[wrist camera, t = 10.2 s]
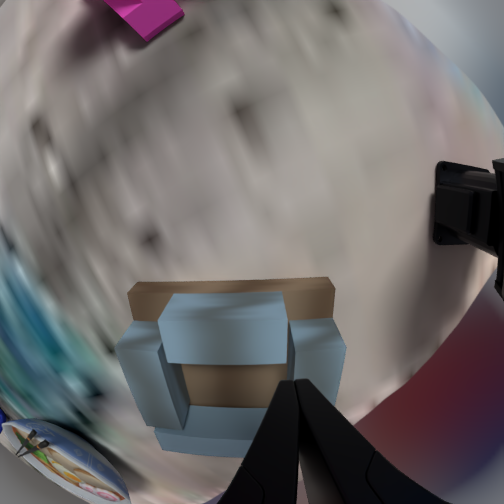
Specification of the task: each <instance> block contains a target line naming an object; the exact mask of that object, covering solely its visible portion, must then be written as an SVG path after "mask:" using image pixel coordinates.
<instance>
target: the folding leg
mask: <svg viewBox="0 0 504 504" xmlns="http://www.w3.org/2000/svg"><path fill="white" fill-rule="evenodd" d="M266 411H267V408H226V407H207V406H194V405H189V407H188V411H187V415H186V419H185V423H184V427H183V430H174V429H166V428H158V427H155V430H154V433H155V435H156V437H157V439H158V441H159V444H160V446H161V448H162V450H166V451H172V452H179V453H187V454H195V455H206V456H219V457H242V458H244V457H245V455H246V453H247V451H248V449H249V447H250V445H251V443H252V441H253V439H254V437H255V435H256V433H257V430H258V428H259V426H260V424H261V422H262V420H263V417H264V415H265V413H266Z"/></svg>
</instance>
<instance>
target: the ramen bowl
mask: <svg viewBox="0 0 504 504" xmlns="http://www.w3.org/2000/svg"><path fill="white" fill-rule="evenodd" d="M2 428H3V432H4V434H5V435H6V437H7V438H8V440H9V441H10V443H11V444H12V445H13V446H14V448H15V449H16V450H17V451H18V452H17V453H16V455H17V454H18V453H20V454H21V455H20V456H23V457H24V458H25V459H26V460H27V461H28V462H29V463H30V464H32V465H33V466H34V467H35V468H36V469H38V470H39V471H40V472H41V473H43V474H44V475H45V476H47V477H48V478H50V479H51V480H53V481H54V482H56V483H57V484H59V485H60V486H62V487H64V488H65V489H67V490H69V491H71V492H72V493H74V494H76V495H78V496H80V497H82V498H85V499H87V500H89V501H91V502H94V503H97V504H131V501H130V497H129V493H128V490H127V488H126V485H125V483H124V481H123V479H122V477H121V475H120V474H119V472H118V471H117V470H116V469H115V468H114V467H113V465H112V464H111V463H110V462H109V461H108V460H107V459H106V458H105V457H104V456H103V455H101V454H100V453H99V452H98V451H96V450H95V448H94V447H93V446H92V445H91V444H90V443H88V442H87V441H86V440H84V439H83V438H82V437H80V436H79V435H77V434H75V433H73V432H71V431H68V430H65V429H63V428H61V427H59V426H57V425H54V424H52V423H49V422H46V421H43V420H39V419H35V418H33V419H19V420H13V421H8V422H5V423H2ZM20 456H18V457H20Z"/></svg>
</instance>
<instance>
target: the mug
mask: <svg viewBox="0 0 504 504" xmlns="http://www.w3.org/2000/svg"><path fill="white" fill-rule="evenodd" d="M5 422H6V416H5V414H4V413H3V411H2V410H1V409H0V433H1V432H2V430H3V428H2V423H5Z"/></svg>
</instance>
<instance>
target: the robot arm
mask: <svg viewBox="0 0 504 504" xmlns="http://www.w3.org/2000/svg"><path fill="white" fill-rule="evenodd" d="M492 163H493V169H495V174H493V173H490V172H489V171H488V170H487V169H482V168H477V167H473V166H468V165H463V164H457V163H452V162H446V161H440V162H438V164H437V190H436V209H435V223H434V233H433V241H434V243H435V244H437V245H460V244H470V245H472V246H474V247H477V248H479V249H481V250H483V251H485V252H487V253H489V254H491V255H493V256H495V257H497V258H498V265H497V277H496V280H495V286H494V288H495V289H496V291H497V292H498V293H499V295H500V296H501V298H502V299H503V301H504V158H502V159H496V160H492ZM442 166H444V170H443V169H442ZM439 236H440V239H439V240H438V237H439ZM375 450H376V449H375V448H374V447H373V446H372V445H371V444H370V443H369V442H368V441H367V440H366V439H365V438H364V437H363V436H362V435H361V434H360V432H359V431H357V429H356V428H354V426H353V425H352V424H351V423H350V422H349V421H348V420H347V419H346V418H345V417H344V416H343V415H342V414H341V413H340V412H339V411H338V410H337V409H336V408H335V407H334V406H333V405H332V403H331V402H330V401H329V400H328V399H327V398H326V397H325V396H324V395H323V394H322V393H321V392H320V391H319V390H318V389H317V387H316V386H315V385H314V384H313V383H312V382H311V381H310V380H309V379H307V378H302V379H295V380H294V381H293V380H292V379H289V380H280V381H279V383H278V385H277V388H276V390H275V392H274V395H273V397H272V399H271V402H270V404H269V406H268V408H267V411H266V413H265V415H264V417H263V420H262V422H261V424H260V426H259V428H258V430H257V433H256V435H255V437H254V439H253V441H252V443H251V445H250V447H249V449H248V451H247V453H246V455H245V457H244V459H243V461H242V463H241V466H240V467H239V469H238V471H237V473H236V475H235V477H234V478H233V480H232V482H231V483H230V485H229V487H228V488H227V490H226V492H225V493H224V494H223V496H222V497H221V499H220V500H219V501H218V503H217V504H296V501H297V484H298V467H299V462H300V466H301V471H302V475H303V480H304V484H305V489H306V493H307V498H308V502H309V504H451V503H449V502H446V501H444V500H442V499H441V498H439V497H437V496H436V495H434V494H432V493H431V492H430V491H428V490H426V489H425V488H423V487H422V486H420V485H419V484H418V483H416V482H415V481H413V480H412V479H410V478H409V477H408V476H406V475H405V474H404V473H402V472H401V471H400V470H398V469H397V468H396V467H395V466H394V465H392V464H391V463H390V462H389V461H388V460H387V459H386V458H385V457H383V455H382V454H381V453H380V452H379V451H377V450H376V451H375Z"/></svg>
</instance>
